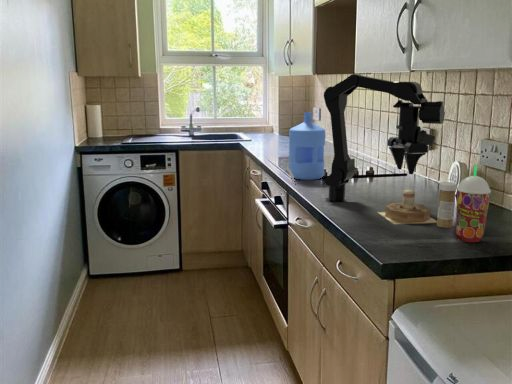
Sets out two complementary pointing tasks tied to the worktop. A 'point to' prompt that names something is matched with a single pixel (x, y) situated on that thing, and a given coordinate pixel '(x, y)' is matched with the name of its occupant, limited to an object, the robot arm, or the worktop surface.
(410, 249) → the worktop surface
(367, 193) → the worktop surface
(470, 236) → the smoothie
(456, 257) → the worktop surface
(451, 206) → the sprinkles bottle
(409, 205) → the cream banded cylinder
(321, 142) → the water jug
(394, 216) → the bead
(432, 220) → the board
